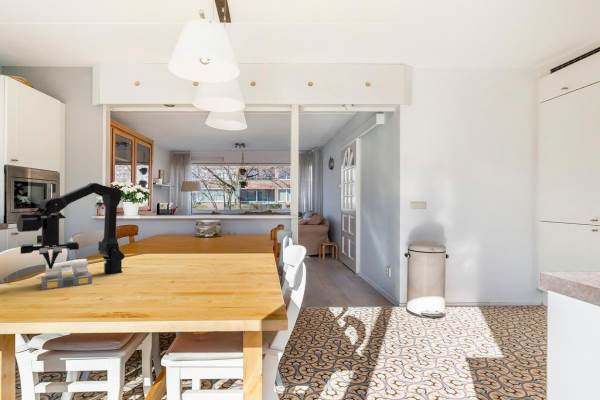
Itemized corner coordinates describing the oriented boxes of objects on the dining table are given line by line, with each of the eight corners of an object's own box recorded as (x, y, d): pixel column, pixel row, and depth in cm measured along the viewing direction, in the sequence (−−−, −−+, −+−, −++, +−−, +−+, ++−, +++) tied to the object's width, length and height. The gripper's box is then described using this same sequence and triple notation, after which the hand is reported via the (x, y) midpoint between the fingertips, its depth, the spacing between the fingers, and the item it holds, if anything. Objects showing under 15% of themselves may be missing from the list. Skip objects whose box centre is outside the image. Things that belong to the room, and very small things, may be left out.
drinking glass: (45, 279, 145) (86, 274, 151) (44, 263, 145) (85, 259, 151) (48, 277, 151) (87, 272, 157) (48, 261, 151) (87, 257, 157)
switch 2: (70, 267, 140) (71, 264, 140) (73, 276, 134) (73, 273, 133) (60, 268, 138) (60, 265, 138) (62, 277, 131) (62, 274, 131)
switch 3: (85, 270, 144) (85, 266, 144) (88, 270, 137) (88, 267, 137) (75, 271, 141) (74, 268, 141) (77, 272, 134) (77, 268, 134)
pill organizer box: (87, 278, 146) (87, 270, 146) (92, 283, 136) (92, 275, 136) (41, 283, 135) (41, 275, 135) (42, 290, 126) (42, 281, 126)
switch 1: (56, 273, 137) (56, 270, 137) (57, 273, 130) (57, 270, 130) (45, 275, 135) (45, 271, 135) (46, 275, 128) (46, 271, 128)
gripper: (76, 227, 148) (76, 262, 148) (20, 229, 136) (20, 268, 136) (79, 229, 139) (79, 267, 139) (20, 232, 127) (20, 273, 127)
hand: (50, 268), depth 136 cm, fingers closed
